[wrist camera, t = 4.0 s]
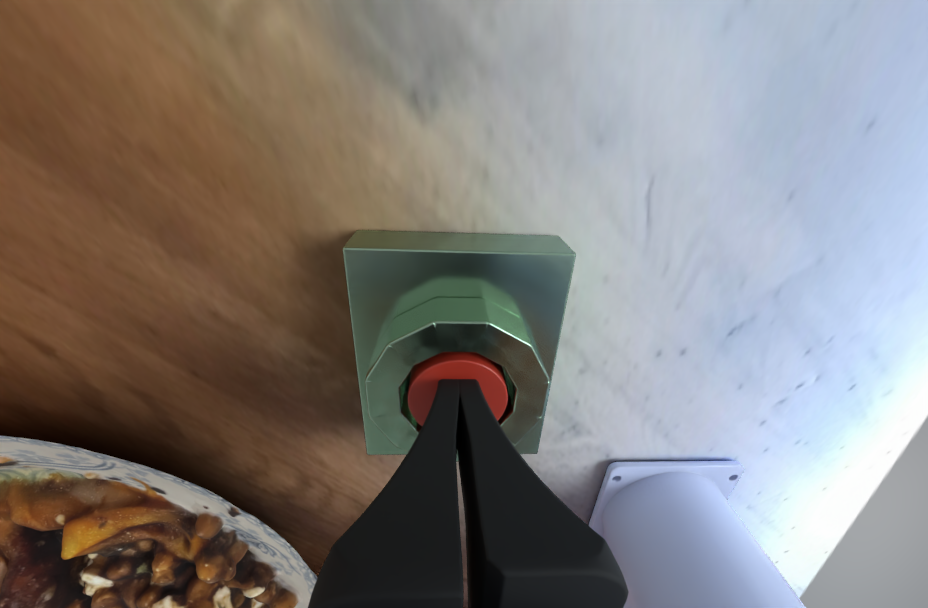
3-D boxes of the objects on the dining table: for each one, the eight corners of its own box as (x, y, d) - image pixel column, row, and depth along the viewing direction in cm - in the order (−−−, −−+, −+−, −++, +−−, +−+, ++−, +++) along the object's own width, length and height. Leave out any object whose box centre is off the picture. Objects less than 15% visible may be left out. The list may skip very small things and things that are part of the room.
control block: (528, 419, 19) (547, 489, 15) (374, 420, 19) (357, 491, 15) (559, 235, 14) (596, 273, 11) (356, 229, 14) (325, 267, 10)
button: (497, 405, 15) (503, 437, 14) (412, 405, 15) (408, 438, 14) (505, 333, 14) (513, 361, 12) (410, 332, 13) (405, 360, 12)
